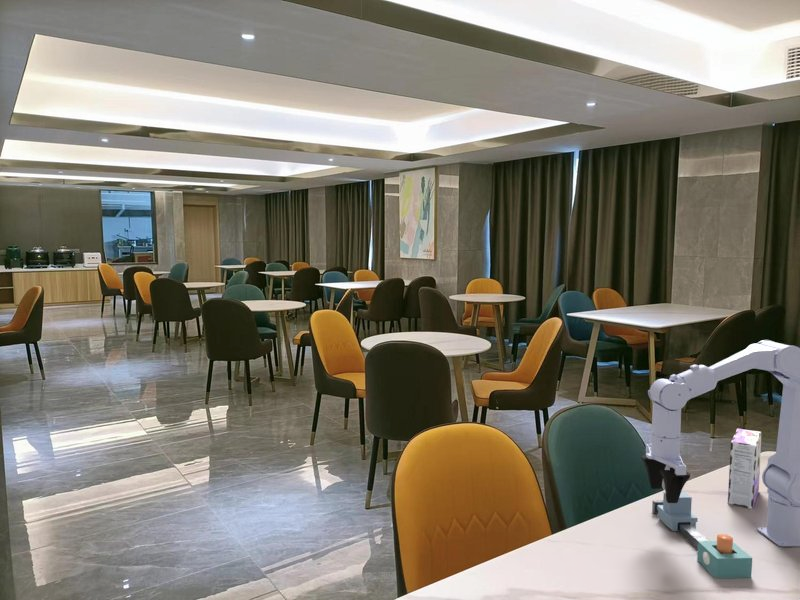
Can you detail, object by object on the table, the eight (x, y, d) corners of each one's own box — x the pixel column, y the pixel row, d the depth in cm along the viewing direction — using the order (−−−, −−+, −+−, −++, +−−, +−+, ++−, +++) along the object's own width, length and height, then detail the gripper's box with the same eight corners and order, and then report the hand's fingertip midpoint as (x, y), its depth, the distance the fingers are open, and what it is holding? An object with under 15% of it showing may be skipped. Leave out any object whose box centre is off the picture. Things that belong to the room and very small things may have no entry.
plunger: (726, 552, 122) (727, 533, 122) (735, 560, 119) (735, 540, 119) (713, 553, 122) (714, 534, 122) (721, 560, 119) (722, 540, 119)
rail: (672, 511, 147) (672, 500, 147) (721, 555, 126) (722, 541, 126) (652, 512, 147) (652, 500, 147) (698, 556, 126) (698, 542, 126)
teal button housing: (730, 559, 124) (731, 540, 124) (751, 577, 118) (752, 557, 117) (696, 559, 124) (697, 541, 124) (715, 578, 117) (716, 558, 117)
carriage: (681, 517, 144) (682, 488, 143) (696, 530, 137) (698, 500, 136) (656, 517, 143) (657, 488, 143) (671, 531, 136) (672, 501, 136)
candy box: (734, 486, 163) (737, 427, 162) (759, 491, 160) (762, 431, 158) (726, 504, 152) (729, 440, 150) (753, 510, 148) (757, 444, 147)
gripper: (633, 425, 138) (631, 482, 139) (663, 445, 124) (661, 509, 125) (663, 424, 139) (661, 482, 140) (697, 445, 124) (694, 509, 125)
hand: (663, 495), depth 132 cm, fingers open, 7 cm apart
